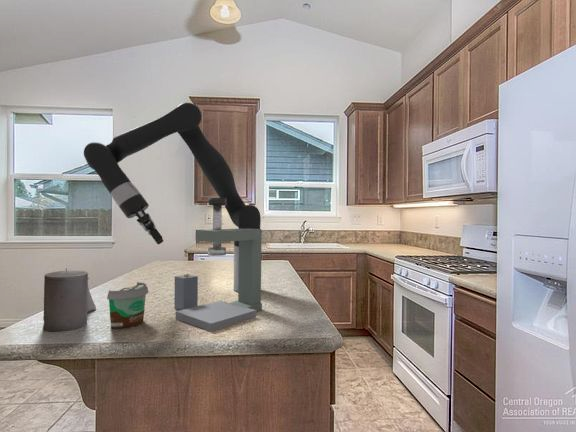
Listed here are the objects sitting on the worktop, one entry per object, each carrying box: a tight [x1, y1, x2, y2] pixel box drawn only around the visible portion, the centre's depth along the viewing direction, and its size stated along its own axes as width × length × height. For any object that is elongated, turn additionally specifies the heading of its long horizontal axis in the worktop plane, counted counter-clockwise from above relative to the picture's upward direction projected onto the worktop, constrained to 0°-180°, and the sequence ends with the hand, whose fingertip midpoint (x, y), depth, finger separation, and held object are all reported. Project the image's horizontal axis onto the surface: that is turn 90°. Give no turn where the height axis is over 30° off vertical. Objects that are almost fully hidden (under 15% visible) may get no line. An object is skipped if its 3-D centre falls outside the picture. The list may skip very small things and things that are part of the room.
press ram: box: [207, 197, 227, 257], centre depth 96 cm, size 5×5×16 cm
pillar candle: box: [42, 268, 89, 332], centre depth 88 cm, size 10×10×15 cm
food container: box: [106, 281, 149, 330], centre depth 90 cm, size 12×6×10 cm, turn 168°
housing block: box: [173, 273, 199, 311], centre depth 106 cm, size 5×5×11 cm
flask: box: [87, 276, 97, 313], centre depth 102 cm, size 7×7×10 cm
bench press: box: [175, 228, 263, 332], centre depth 99 cm, size 23×16×25 cm
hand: (160, 241), depth 107 cm, fingers open, 8 cm apart
